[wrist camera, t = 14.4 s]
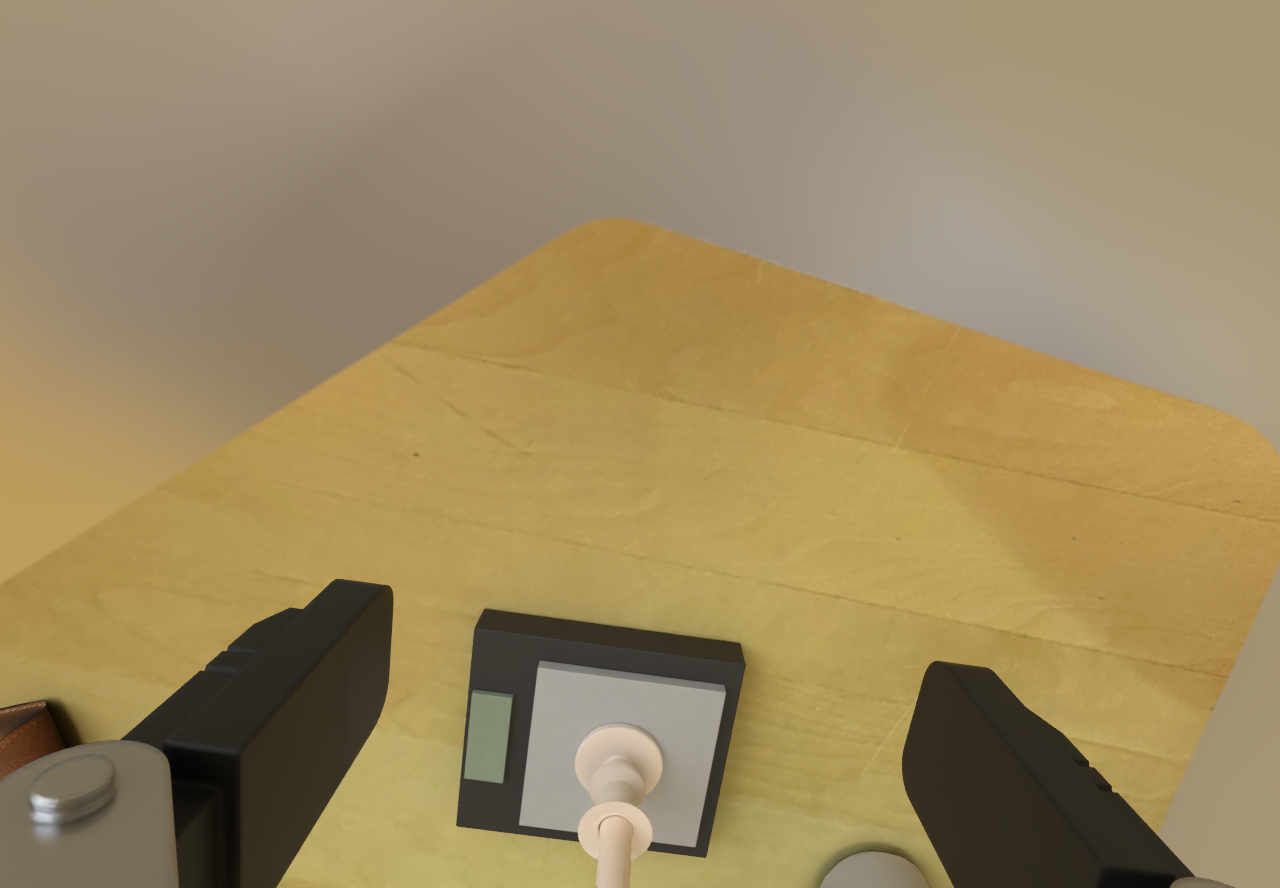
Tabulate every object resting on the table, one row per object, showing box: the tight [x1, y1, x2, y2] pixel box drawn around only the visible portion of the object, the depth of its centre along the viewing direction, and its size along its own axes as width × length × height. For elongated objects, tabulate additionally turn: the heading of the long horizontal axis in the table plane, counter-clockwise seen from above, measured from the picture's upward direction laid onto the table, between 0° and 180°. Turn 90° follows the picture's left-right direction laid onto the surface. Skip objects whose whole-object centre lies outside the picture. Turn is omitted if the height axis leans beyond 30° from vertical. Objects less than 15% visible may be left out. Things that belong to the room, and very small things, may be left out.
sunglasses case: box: [0, 700, 66, 780], centre depth 43 cm, size 18×7×7 cm
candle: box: [575, 723, 663, 888], centre depth 34 cm, size 5×5×10 cm
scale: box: [456, 609, 745, 858], centre depth 41 cm, size 16×14×3 cm
